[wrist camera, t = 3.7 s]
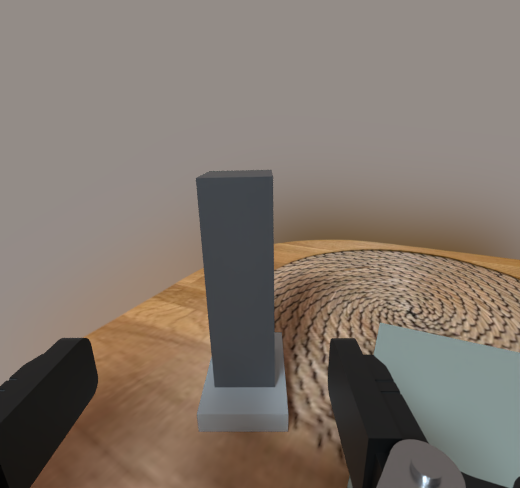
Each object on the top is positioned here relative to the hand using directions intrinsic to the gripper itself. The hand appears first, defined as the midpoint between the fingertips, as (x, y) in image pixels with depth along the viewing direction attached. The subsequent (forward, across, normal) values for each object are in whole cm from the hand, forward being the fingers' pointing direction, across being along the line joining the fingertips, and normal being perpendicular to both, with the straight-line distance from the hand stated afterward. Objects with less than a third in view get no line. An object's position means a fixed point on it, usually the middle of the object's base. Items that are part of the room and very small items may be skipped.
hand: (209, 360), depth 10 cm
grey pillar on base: (+12, 0, +11) cm, 16 cm away
